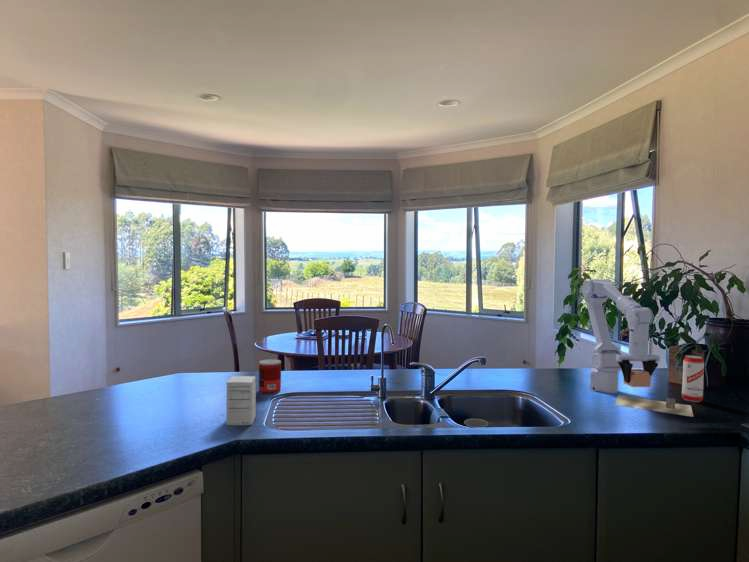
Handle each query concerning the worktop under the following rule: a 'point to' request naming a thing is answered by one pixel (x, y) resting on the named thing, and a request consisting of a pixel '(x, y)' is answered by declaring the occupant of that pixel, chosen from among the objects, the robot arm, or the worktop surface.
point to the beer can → (693, 378)
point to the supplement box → (241, 400)
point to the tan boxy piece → (639, 378)
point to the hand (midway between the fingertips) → (636, 382)
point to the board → (655, 405)
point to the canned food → (269, 376)
